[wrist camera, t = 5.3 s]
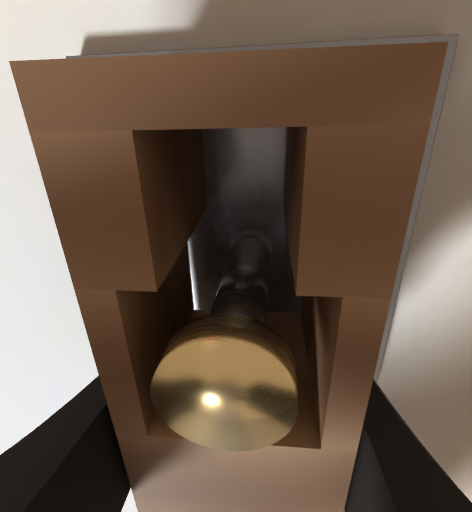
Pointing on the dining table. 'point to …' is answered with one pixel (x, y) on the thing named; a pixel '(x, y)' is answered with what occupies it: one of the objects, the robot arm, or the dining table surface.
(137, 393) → the block
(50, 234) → the dining table surface
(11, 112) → the dining table surface
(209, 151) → the hook plate
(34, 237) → the dining table surface
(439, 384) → the dining table surface
